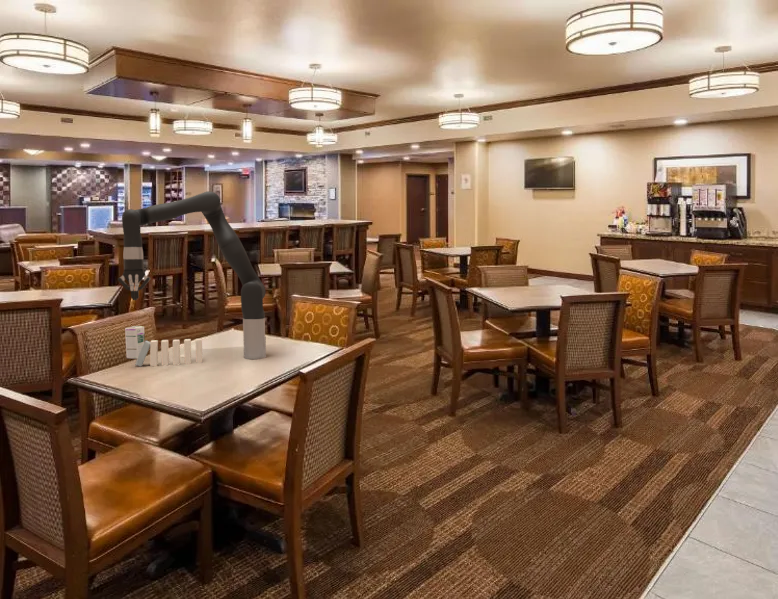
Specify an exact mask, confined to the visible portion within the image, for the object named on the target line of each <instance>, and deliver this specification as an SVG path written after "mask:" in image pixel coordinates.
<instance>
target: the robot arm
mask: <svg viewBox="0 0 778 599" xmlns="http://www.w3.org/2000/svg"><path fill="white" fill-rule="evenodd" d="M221 204H222V203H221V198H220V196H219V195H218V194H217V193H215V192H214V191H208V190H207V191H204V192H202V193H199V194H196V195H193V196H191V197H188V198H184V199H178V200H175V201H170V202H164V203H159V204H155V205H149V206H147V207H144V208H139V209H138V208H137V209H133V208H132V209H131V208H130V209H126V210H124V212H123V213H122V215H121V226H122V229H123V230H122V232H123V255H122V256H123V257H122V258H123V273H122V275H121V276H120V277H118V278H117V281H118V282H119V283H120V284H121V285H122V286H123V288H124V289H125V290H126V291H130V298H131V300H132V301H138V300H139V298H140V296H139V295H140V294H139V292H140V291H142V290H143V289H144V288H145V287H146V285H147V284H148V283H149V281H150V280H151V277H150V276H148V275H146V272H145V270H144V269H145V268H144V267H145V266H144V250H143V237H142V233H141V227H142V226H144V225H149V224H152V223H160V222H165V221H169V220H173V219H176V218H178V217H181V216H184V215H188V214H193V213H202V215H203V216H204V218H205V219H206V221H207V223H208V224H209V226H210V228H211V231H212V233H213V235H214V238H215V240H216V244H217V246H218V247H219V249H220V252H221V254H222V256H223V258H224V259H225V261H226V262H227V264H228V265H229V266H230V268H231V269H232V270H233V271H234V273H236V274H237V277H238V278H239V280H240V283H241V285H242V287H241V290H240V305H241V306H240V307H241V309H240V310H241V313H242V330H243V331H242V336H243V337H242V339H243V341H242V342H243V358H244V359H246V360H260V359H265V358H267V348H266V345H267V344H266V343H267V342H266V322H265V320H266V316H265V315H266V312H265V310H264V301H263V300H264V298H265V297H266V291H267V290H266V288H265V285H264V284H263V282H262V280H261V279H260V277H259V276H258V274H257V272H256V270H255V269H254V267H253V265H252V263H251V260H250V258H249V256H248V254H247V252H246V249H245V248H244V246H243V243H242V241H241V239H240V238H239V236H238V235H237V233H236V231H235V230H234V229H233V227H232V226H231V225H230V223H229V222H228V220H227V217H226V216H225V213H224V210H223V208H222V205H221ZM125 280H126V281H127V282H128V283H129V285H128V284H127V283H126V282H125ZM142 280H143V282H142V284H140V282H141V281H142Z"/></svg>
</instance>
